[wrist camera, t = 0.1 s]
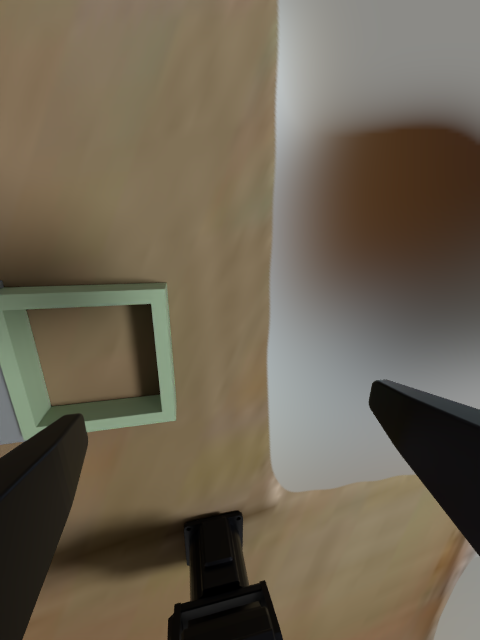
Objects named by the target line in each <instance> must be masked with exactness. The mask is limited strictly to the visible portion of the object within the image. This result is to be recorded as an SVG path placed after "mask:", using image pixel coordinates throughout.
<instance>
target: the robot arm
mask: <svg viewBox="0 0 480 640" xmlns="http://www.w3.org/2000/svg"><path fill="white" fill-rule="evenodd" d="M369 406H370V409H371V410H372V412H373V414H374V415H375V416H376V418H377V420H378V421H379V423H380V424H381V426H382V427H383V429H384V431H385V432H386V434H387V435H388V437H389V438H390V439H391V441H392V443H393V444H394V446H395V447H396V449H397V450H398V451H399V453H400V454H401V455H402V457H403V458H404V459H405V461H406V462H407V463H408V465H409V466H410V467H411V468H412V470H413V471H414V472H415V474H416V475H417V476H418V477H419V479H420V480H421V481H422V483H423V484H424V485H425V486H426V488H427V489H428V490H429V492H430V493H431V494H432V496H433V497H434V498H435V499H436V501H437V502H438V503H439V505H440V506H441V507H442V508H443V510H444V511H445V512H446V514H447V515H448V516H449V517H450V519H451V520H452V521H453V523H454V524H455V525H456V526H457V528H458V529H459V530H460V532H461V533H462V534H463V535H464V537H465V538H466V539H467V541H468V542H469V543H470V545H471V546H472V547H473V548H474V550H475V551H476V552H477V554H478V555H479V556H480V410H479V409H476V408H473V407H470V406H467V405H464V404H461V403H457V402H454V401H451V400H448V399H445V398H442V397H439V396H436V395H433V394H430V393H427V392H424V391H420V390H417V389H414V388H411V387H408V386H405V385H402V384H399V383H395V382H393V381H389V380H376V381H374V382H373V383H372V387H371V392H370V397H369ZM87 446H88V436H87V431H86V426H85V421H84V417H83V415H82V414H81V413H75V414H66V415H64V416H62V417H60V418H59V419H57V420H56V421H54V422H53V423H52V424H50V425H49V426H47V427H46V428H44V429H43V430H41V431H40V432H38V433H37V434H35V435H34V436H32V437H31V438H29V439H28V440H26V441H25V442H23V443H22V444H20V445H19V446H18V447H16V448H15V449H13V450H12V451H10V452H9V453H7V454H6V455H4V456H3V457H1V458H0V640H22V639H23V636H24V634H25V631H26V628H27V625H28V623H29V620H30V617H31V615H32V612H33V609H34V607H35V604H36V601H37V599H38V596H39V593H40V591H41V588H42V585H43V583H44V580H45V577H46V574H47V572H48V569H49V566H50V564H51V561H52V558H53V556H54V553H55V550H56V548H57V545H58V542H59V540H60V537H61V534H62V532H63V529H64V526H65V523H66V521H67V518H68V515H69V512H70V510H71V507H72V504H73V500H74V496H75V493H76V489H77V485H78V481H79V477H80V473H81V469H82V466H83V462H84V458H85V454H86V450H87ZM184 536H185V548H186V560H187V565H188V566H190V602H186V603H182V604H181V603H177V604H175V606H174V613H173V615H172V616H171V617H170V618H169V619H168V640H283V638H282V634H281V630H280V627H279V623H278V620H277V617H276V614H275V611H274V607H273V604H272V601H271V598H270V594H269V591H268V588H267V585H266V582H265V580H264V581H260V583H257V584H254V585H250V586H249V583H248V577H247V572H246V567H245V562H244V557H243V551H242V543H243V516H242V513H241V512H236V513H231V514H226V515H221V516H216V517H211V518H206V519H202V520H197V521H192V522H188V523H186V524H185V525H184Z"/></svg>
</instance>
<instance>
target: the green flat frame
mask: <svg viewBox="0 0 480 640" xmlns="http://www.w3.org/2000/svg"><path fill="white" fill-rule="evenodd" d="M135 304H151V307H152V317H153V327H154V336H155V346H156V356H157V366H158V375H159V385H160V395H152V396H143V397H134V398H125V399H116V400H107V401H98V402H89V403H80V404H71V405H62V406H53V407H51V404H50V400H49V396H48V392H47V388H46V384H45V380H44V377H43V373H42V369H41V365H40V361H39V357H38V353H37V349H36V346H35V342H34V338H33V334H32V330H31V326H30V322H29V318H28V315H27V311H26V309H46V308H68V307H90V306H113V305H135ZM75 413H81V414H82V415H83V417H84V421H85V426H86V431H87V432H92V431H99V430H107V429H115V428H122V427H130V426H138V425H145V424H153V423H161V422H168V421H176V392H175V380H174V368H173V355H172V343H171V331H170V318H169V306H168V294H167V283H138V284H105V285H72V286H38V287H5V288H4V286H3V282H2V280H0V445H1V444H9V443H16V442H24V441H26V440H28V439H29V438H31V437H32V436H34V435H35V434H37V433H38V432H40V431H41V430H43V429H44V428H46V427H47V426H49V425H50V424H52V423H53V422H54V421H56V420H57V419H59V418H60V417H62V416H64V415H66V414H75Z"/></svg>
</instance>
